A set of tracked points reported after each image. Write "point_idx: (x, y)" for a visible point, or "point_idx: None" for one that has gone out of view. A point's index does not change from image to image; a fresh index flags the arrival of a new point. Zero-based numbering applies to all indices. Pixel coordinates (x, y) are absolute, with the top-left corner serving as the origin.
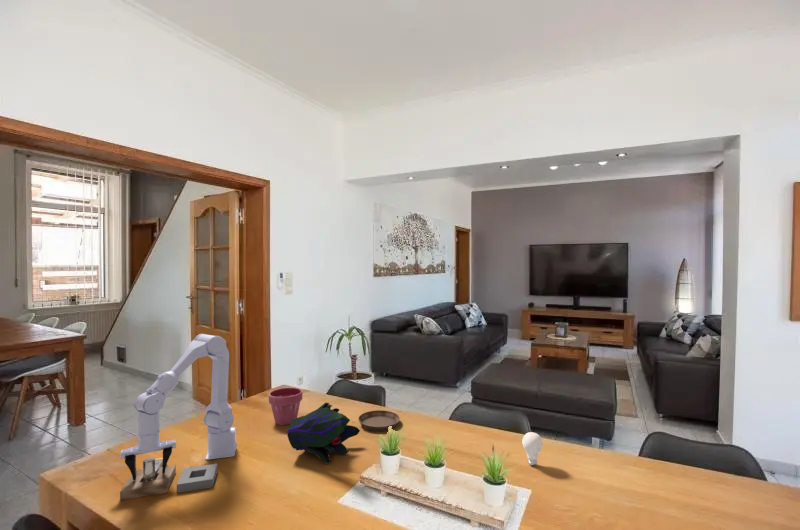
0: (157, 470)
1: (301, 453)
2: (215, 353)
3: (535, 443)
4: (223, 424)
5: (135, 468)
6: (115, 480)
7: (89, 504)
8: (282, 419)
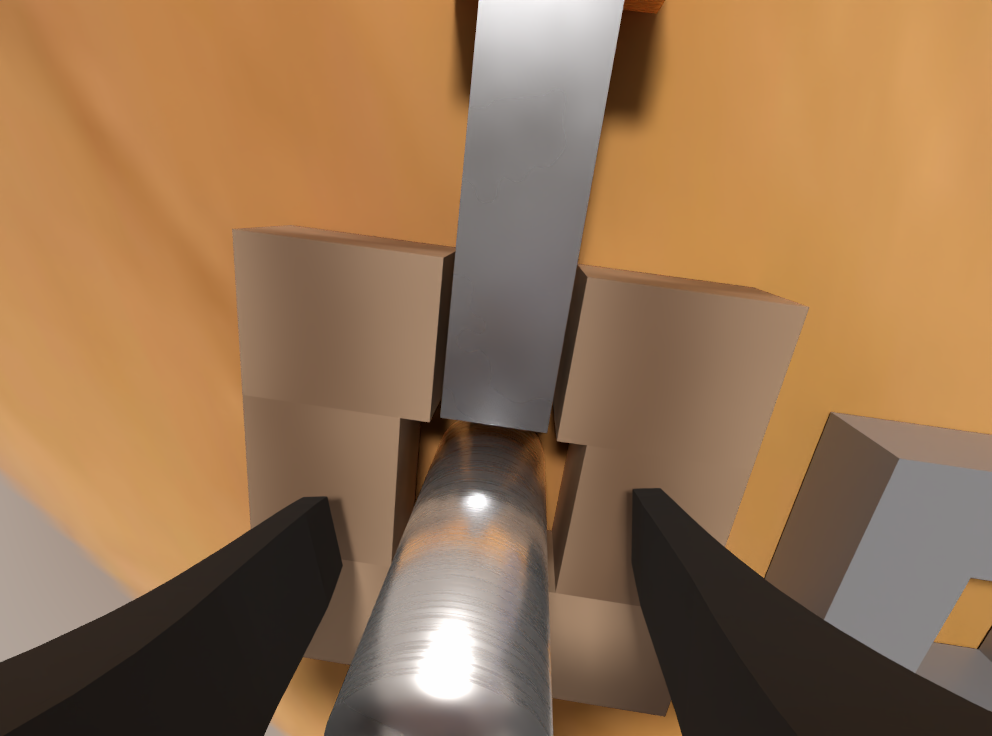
0: (557, 363)
1: None
2: None
3: None
4: None
5: (257, 611)
6: (90, 163)
7: (85, 543)
8: None
